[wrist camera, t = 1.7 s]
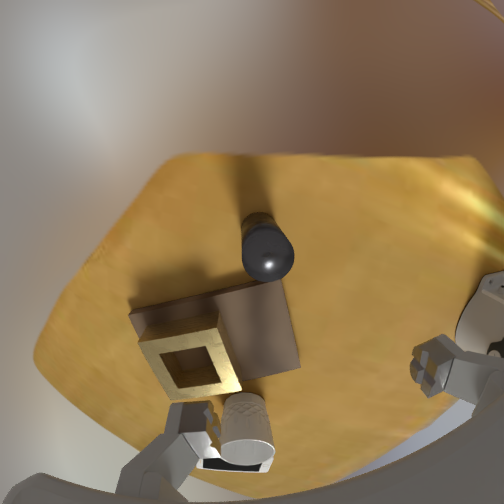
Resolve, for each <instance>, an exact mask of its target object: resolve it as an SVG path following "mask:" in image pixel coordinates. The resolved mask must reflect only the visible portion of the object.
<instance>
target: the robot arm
mask: <svg viewBox="0 0 504 504" xmlns="http://www.w3.org/2000/svg"><path fill="white" fill-rule="evenodd" d="M455 341H456V344H455V343H454V342H453V341H452V340H451V339H450V338H448V337H447V336H446V335H444V334H441V335H439V336H437V337H435V338H433V339H430V340H428V341H426V342H424V343H422V344H419V345H417V346H415V347H414V349H413V352H412V355H413V356H414V358H413V360H412V361H411V363H410V373H411V376H412V379H413V380H414V381H415V383H419V384H421V390H422V391H423V393H424V394H425V395H426V396H427V398H430V397H432V396H434V395H436V394H438V393H440V392H442V391H444V392H446V393H448V394H451V395H453V396H455V397H458V398H460V399H462V400H465V401H467V402H469V403H472V404H474V405H476V407H475V409H474V411H473V413H472V418H471V419H469V420H468V421H466V422H465V423H463V424H462V425H460V426H459V427H457V428H456V429H454V430H453V431H451V432H449V433H448V434H446V435H444V436H443V437H441V438H439V439H438V440H436V441H434V442H432V443H430V444H429V445H427V446H425V447H423V448H421V449H419V450H417V451H416V452H413V453H411V454H410V455H407V456H405V457H403V458H401V459H399V460H397V461H394V462H392V463H390V464H387V465H385V466H383V467H380V468H378V469H375V470H373V471H370V472H368V473H365V474H362V475H359V476H356V477H353V478H350V479H347V480H344V481H341V482H338V483H334V484H330V485H327V486H323V487H319V488H315V489H311V490H307V491H302V492H298V493H293V494H287V495H282V496H275V497H269V498H261V499H253V500H242V501H229V502H188V500H187V499H186V498H185V497H183V496H182V495H181V494H180V493H179V492H178V491H177V489H178V488H179V487H180V486H181V484H182V483H183V482H184V480H185V479H186V477H187V476H188V475H189V474H190V472H191V471H192V470H193V468H194V467H195V466H196V464H197V463H198V461H199V459H207V458H219V457H221V443H220V441H219V439H218V438H219V437H220V436H221V425H220V420H219V417H218V415H217V413H215V412H214V406H213V404H212V402H211V401H210V400H206V401H193V402H180V403H172V404H171V405H170V408H169V413H168V417H167V422H166V426H165V431H164V434H160V435H159V436H158V437H156V438H155V439H154V440H153V441H152V442H151V443H150V444H149V445H148V446H147V447H146V448H144V449H143V450H142V451H141V452H140V453H139V454H138V455H137V456H136V457H134V458H133V459H132V460H131V461H130V462H129V463H128V464H126V465H125V466H124V467H123V468H122V470H121V474H120V477H119V481H118V484H117V488H116V492H115V494H114V493H109V492H105V491H100V490H96V489H92V488H88V487H85V486H81V485H78V484H74V483H71V482H68V481H65V480H62V479H59V478H56V477H54V476H51V475H48V474H45V473H37V474H35V475H32V476H30V477H29V478H27V479H25V480H23V481H22V482H20V483H18V484H16V485H15V486H14V487H12V489H11V490H10V491H9V493H8V494H7V496H6V497H5V499H4V501H3V503H2V504H504V271H501V272H497V273H492V274H488V275H485V276H484V277H483V278H482V280H481V283H480V285H479V287H478V290H477V291H476V293H475V295H474V296H473V297H472V299H471V300H470V302H469V303H468V305H467V306H466V308H465V310H464V312H463V314H462V316H461V318H460V321H459V323H458V326H457V330H456V337H455Z"/></svg>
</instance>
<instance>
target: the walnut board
mask: <svg viewBox="0 0 504 504" xmlns="http://www.w3.org/2000/svg"><path fill="white" fill-rule="evenodd" d="M215 311H220V314H221V317H222V319H223V322H224V325H225V328H226V330H227V333H228V336H229V339H230V341H231V344H232V347H233V349H234V352H235V355H236V357H237V360H238V363H239V365H240V368H241V370H242V381H246V380H251V379H255V378H260V377H265V376H269V375H273V374H278V373H282V372H286V371H290V370H294V369H297V368H301V366H300V361H299V357H298V352H297V348H296V343H295V339H294V334H293V330H292V325H291V321H290V317H289V312H288V308H287V304H286V299H285V295H284V291H283V287H282V282H281V279H279V280H277V281H273V282H262V281H258V280H257V281H253V282H249V283H245V284H241V285H237V286H233V287H229V288H225V289H221V290H217V291H213V292H208V293H204V294H200V295H196V296H192V297H187V298H183V299H179V300H174V301H170V302H166V303H161V304H157V305H152V306H148V307H143V308H139V309H134V310H132V311H131V312H130V313H129V315H128V316H129V318H130V320H131V322H132V324H133V327H134V329H135V331H136V333H137V335H138V337H139V339H140V337H141V335H142V334H143V332H144V330H145V328H146V326H148V325H153V324H158V323H163V322H168V321H173V320H178V319H183V318H188V317H192V316H197V315H201V314H206V313H210V312H215ZM173 352H174V354H175V356H176V358H177V360H178V362H179V364H180V366H181V367H182V369H183V370H186V369H192V368H199V367H205V366H210V365H214V364H213V362H212V359H211V357H210V355H209V352H208V350H207V348H206V346H201V347H196V348H190V349H185V350H179V351H173Z"/></svg>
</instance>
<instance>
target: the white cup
mask: <svg viewBox="0 0 504 504" xmlns="http://www.w3.org/2000/svg"><path fill="white" fill-rule="evenodd" d="M219 441H220V443H221V457H220V458H221V459H223V460H224V461H226V462H228V463H232V464H236V465H255V464H260V463H263V462H266V461H268V460H269V459H271V458H272V457H273V456H274V454H275V447H274V442H273V436H272V431H271V426H270V421H269V417H268V414H267V411H266V405H265V401H264V400H263V399H262V398H261V397H260V396H259V395H256V394H253V393H245V392H241V393H237V394H233V395H231V396H230V397H229V398H227V399H226V401H225V403H224V407H223V414H222V419H221V436H220V437H219Z"/></svg>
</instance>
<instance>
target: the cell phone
mask: <svg viewBox="0 0 504 504" xmlns="http://www.w3.org/2000/svg"><path fill="white" fill-rule="evenodd" d="M273 459H274V457H272V458H271V459H269V460H268V461H266V462H263V463H260V464H255V465H236V464H232V463H228V462H226V461H224V460H223V459H221V458H220V457H219V458H207V459H199V461H198V463H197V464H196V467H197V468H200V469H209V470H219V471H233V472H268V470H269V468H270V466H271V463H272V461H273Z"/></svg>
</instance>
